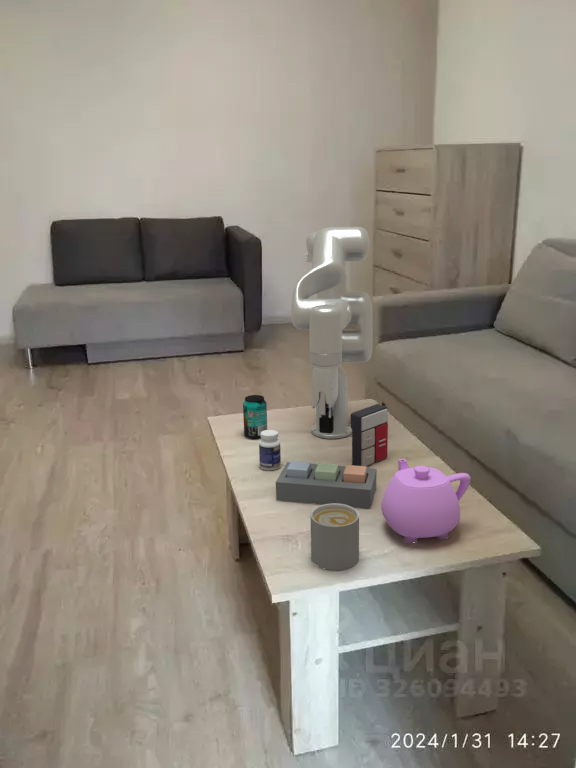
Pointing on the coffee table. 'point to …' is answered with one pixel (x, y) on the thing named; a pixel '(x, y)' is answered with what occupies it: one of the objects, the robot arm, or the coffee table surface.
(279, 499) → the button housing
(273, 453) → the pill bottle
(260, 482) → the coffee table surface
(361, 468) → the terracotta button
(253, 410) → the teal supplement jar
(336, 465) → the sage button
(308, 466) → the slate button
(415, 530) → the teapot
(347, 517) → the coffee mug
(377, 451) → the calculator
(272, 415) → the coffee table surface
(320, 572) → the coffee table surface
